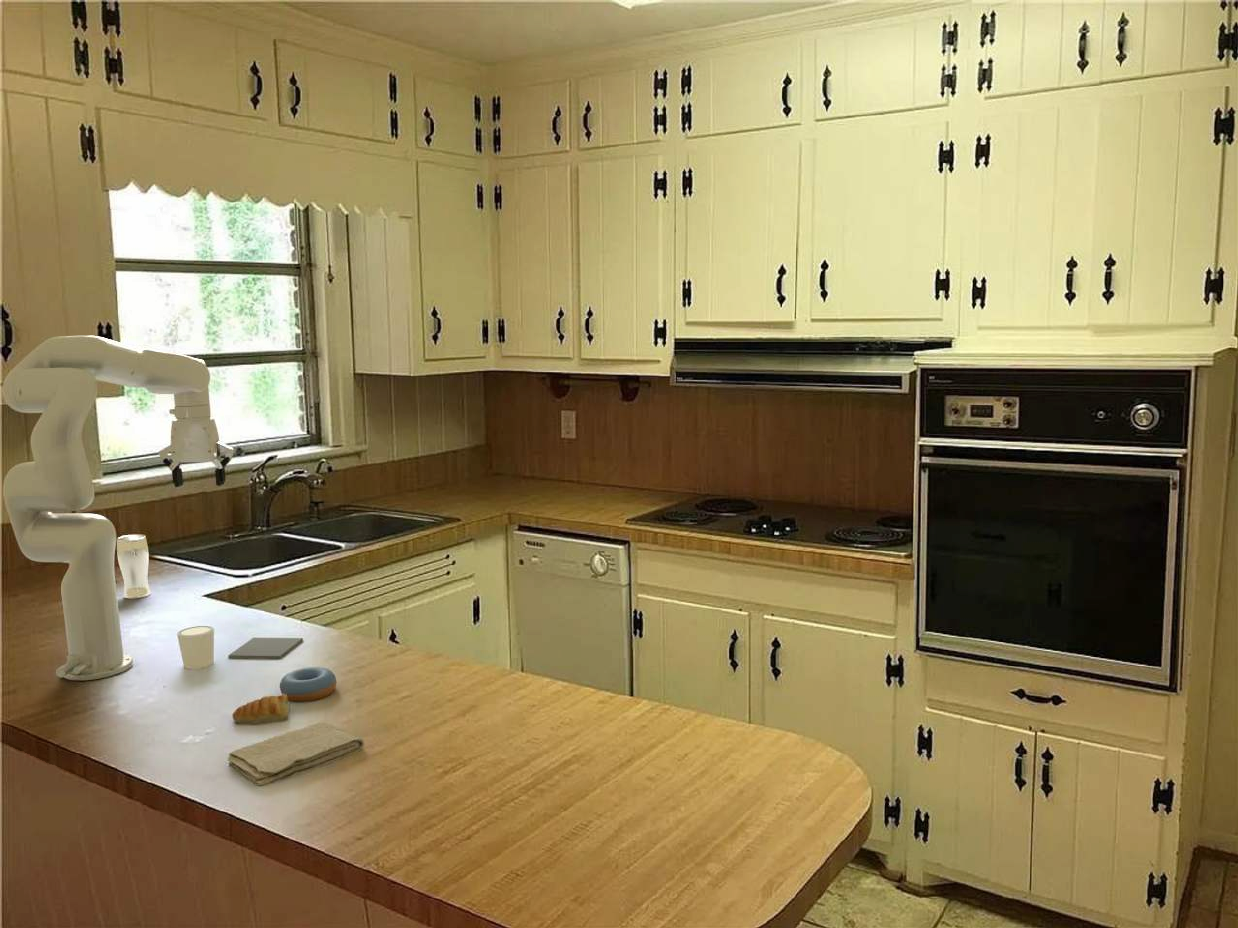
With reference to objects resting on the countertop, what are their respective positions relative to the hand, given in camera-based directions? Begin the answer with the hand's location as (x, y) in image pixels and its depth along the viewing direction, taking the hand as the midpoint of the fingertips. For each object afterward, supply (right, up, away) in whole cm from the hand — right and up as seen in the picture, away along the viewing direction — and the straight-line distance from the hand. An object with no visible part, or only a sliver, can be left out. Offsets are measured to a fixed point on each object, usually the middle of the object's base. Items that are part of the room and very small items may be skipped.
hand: (199, 485), depth 237 cm
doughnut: (+41, -38, -51) cm, 75 cm away
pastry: (+37, -39, -62) cm, 82 cm away
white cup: (+14, -35, -34) cm, 51 cm away
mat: (+25, -34, -26) cm, 49 cm away
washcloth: (+47, -42, -77) cm, 100 cm away
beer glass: (-23, -28, +17) cm, 40 cm away
